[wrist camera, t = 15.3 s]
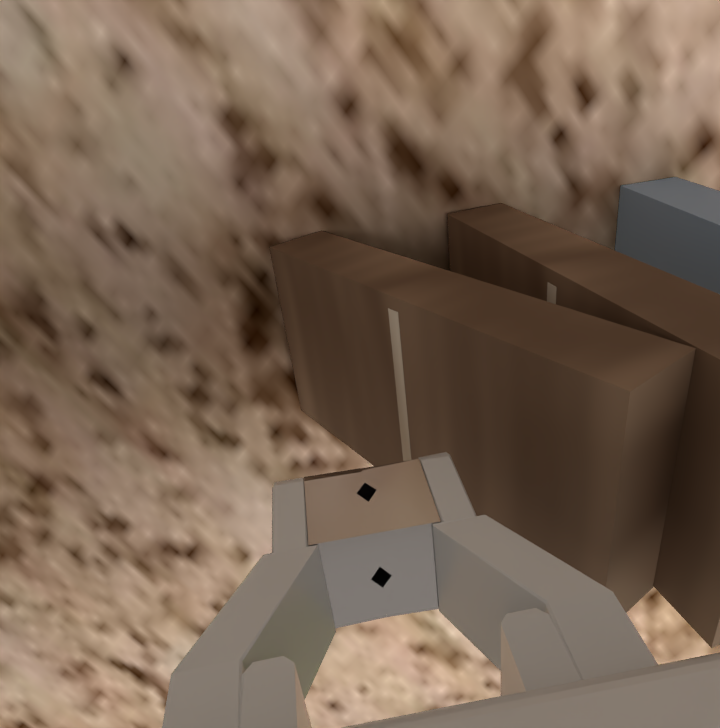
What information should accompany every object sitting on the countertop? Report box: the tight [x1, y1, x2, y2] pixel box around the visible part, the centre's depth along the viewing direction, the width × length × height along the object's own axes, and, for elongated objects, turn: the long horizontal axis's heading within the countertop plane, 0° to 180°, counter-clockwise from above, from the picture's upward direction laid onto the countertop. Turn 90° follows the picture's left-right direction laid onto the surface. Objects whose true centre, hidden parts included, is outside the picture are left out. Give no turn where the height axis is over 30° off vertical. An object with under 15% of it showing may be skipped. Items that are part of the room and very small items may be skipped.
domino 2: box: [447, 203, 720, 648], centre depth 13 cm, size 2×5×10 cm, turn 6°
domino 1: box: [269, 231, 696, 612], centre depth 13 cm, size 2×5×10 cm, turn 6°
